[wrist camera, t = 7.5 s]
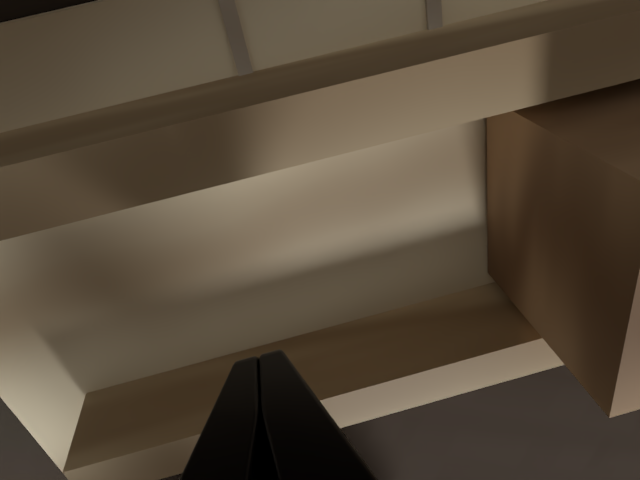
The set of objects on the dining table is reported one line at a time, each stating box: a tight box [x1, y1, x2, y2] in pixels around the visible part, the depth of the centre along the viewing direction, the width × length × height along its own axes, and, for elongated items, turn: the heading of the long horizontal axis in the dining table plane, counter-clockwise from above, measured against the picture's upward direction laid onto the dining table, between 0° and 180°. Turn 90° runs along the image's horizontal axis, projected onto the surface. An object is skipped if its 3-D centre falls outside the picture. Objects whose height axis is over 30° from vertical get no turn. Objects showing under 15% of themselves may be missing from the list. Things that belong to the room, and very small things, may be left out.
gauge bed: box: [0, 0, 640, 480], centre depth 12 cm, size 12×30×4 cm, turn 101°
